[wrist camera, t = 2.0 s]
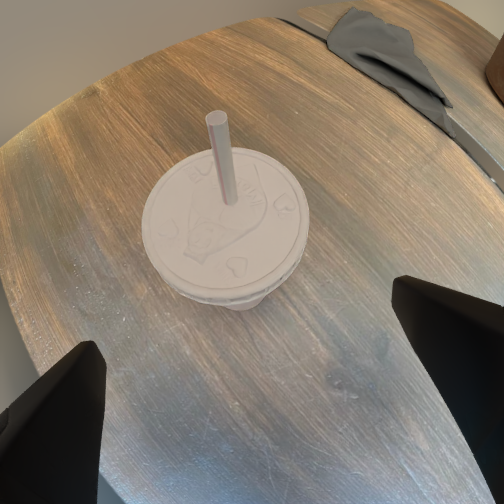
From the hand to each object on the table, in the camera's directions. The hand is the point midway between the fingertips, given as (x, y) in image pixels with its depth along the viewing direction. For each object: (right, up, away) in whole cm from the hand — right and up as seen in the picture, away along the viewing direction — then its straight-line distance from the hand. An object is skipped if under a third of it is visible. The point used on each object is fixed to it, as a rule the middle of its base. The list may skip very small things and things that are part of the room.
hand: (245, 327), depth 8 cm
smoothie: (-1, 0, +12) cm, 12 cm away
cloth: (+16, +25, +21) cm, 37 cm away
